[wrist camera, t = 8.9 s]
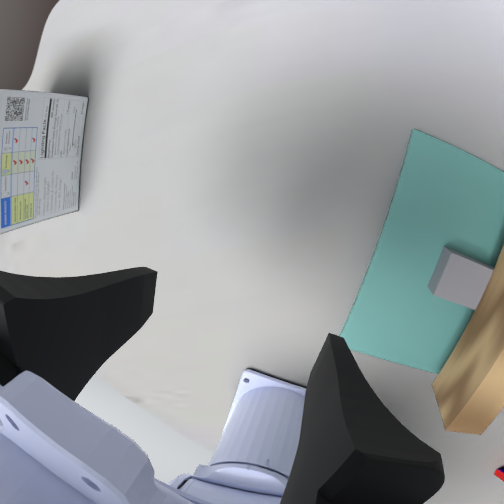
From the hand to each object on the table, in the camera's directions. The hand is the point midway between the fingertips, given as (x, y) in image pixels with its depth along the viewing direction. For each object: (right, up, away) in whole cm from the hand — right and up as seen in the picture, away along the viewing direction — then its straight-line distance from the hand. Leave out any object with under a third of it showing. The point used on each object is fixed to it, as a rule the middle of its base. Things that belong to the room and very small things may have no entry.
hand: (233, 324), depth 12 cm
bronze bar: (+18, 0, +4) cm, 18 cm away
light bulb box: (-17, +12, +13) cm, 25 cm away
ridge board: (+18, 0, +6) cm, 19 cm away
